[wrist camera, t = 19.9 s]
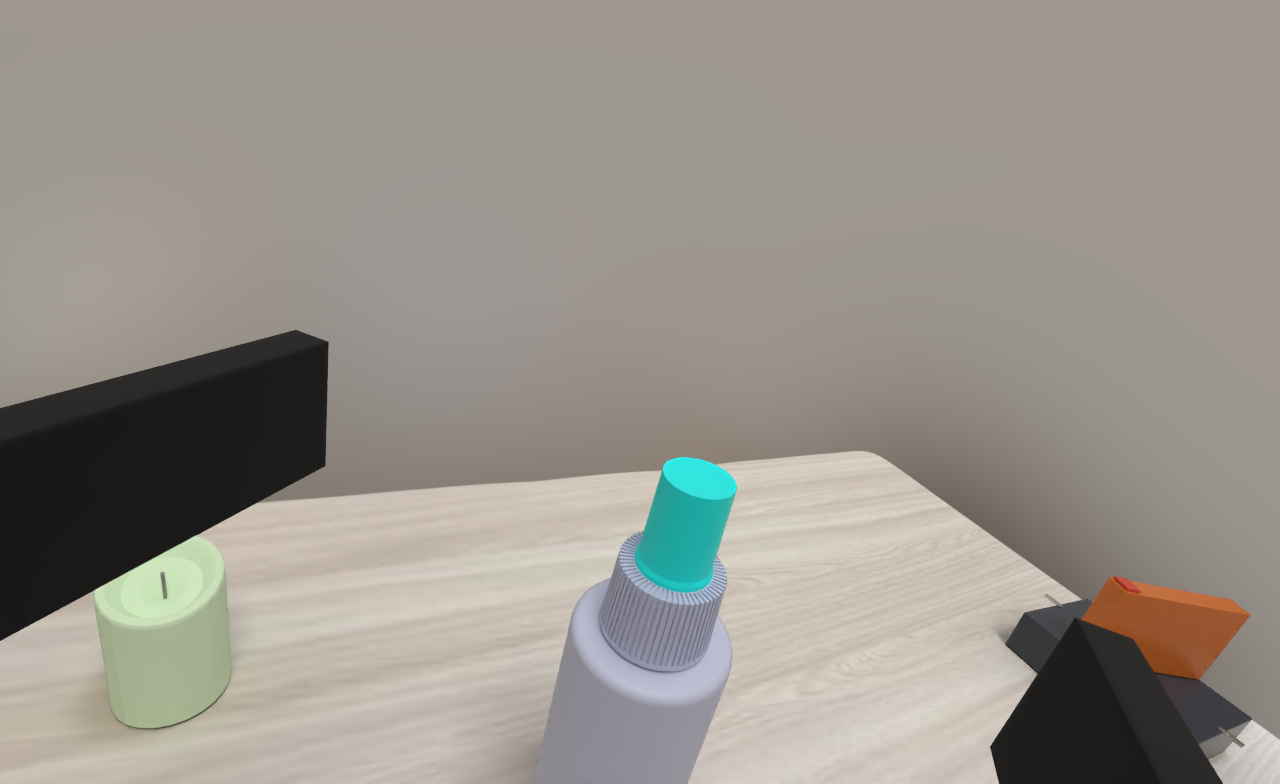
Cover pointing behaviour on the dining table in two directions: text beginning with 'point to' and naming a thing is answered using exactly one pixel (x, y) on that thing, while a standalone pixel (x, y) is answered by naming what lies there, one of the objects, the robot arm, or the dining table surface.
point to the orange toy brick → (1168, 624)
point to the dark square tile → (1192, 698)
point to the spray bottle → (647, 645)
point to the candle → (166, 635)
